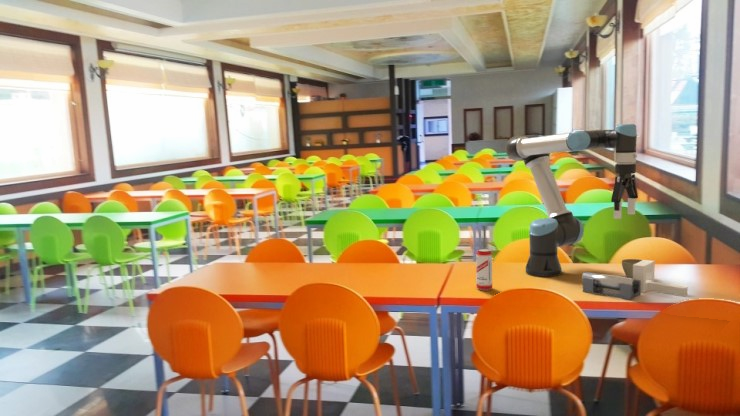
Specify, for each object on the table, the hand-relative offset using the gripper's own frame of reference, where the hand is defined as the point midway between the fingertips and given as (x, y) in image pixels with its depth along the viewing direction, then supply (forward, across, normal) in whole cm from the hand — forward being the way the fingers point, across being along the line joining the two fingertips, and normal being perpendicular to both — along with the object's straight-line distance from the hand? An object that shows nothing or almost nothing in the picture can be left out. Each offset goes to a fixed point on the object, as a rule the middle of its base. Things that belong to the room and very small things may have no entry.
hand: (624, 216), depth 224 cm
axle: (+22, -19, -2) cm, 29 cm away
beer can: (+27, -43, +38) cm, 63 cm away
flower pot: (+27, +8, -2) cm, 28 cm away
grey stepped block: (+27, -6, -10) cm, 29 cm away
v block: (+27, -19, -3) cm, 33 cm away
